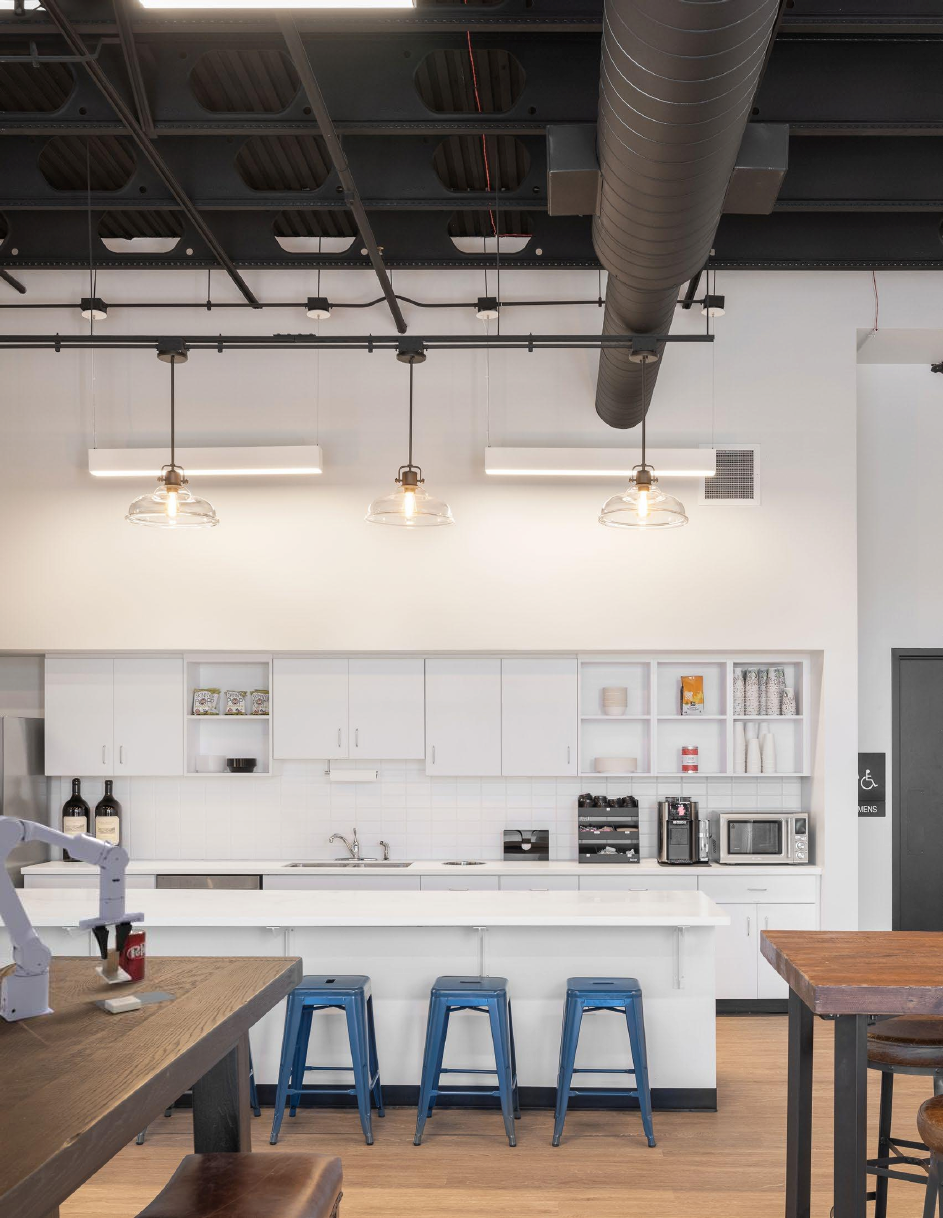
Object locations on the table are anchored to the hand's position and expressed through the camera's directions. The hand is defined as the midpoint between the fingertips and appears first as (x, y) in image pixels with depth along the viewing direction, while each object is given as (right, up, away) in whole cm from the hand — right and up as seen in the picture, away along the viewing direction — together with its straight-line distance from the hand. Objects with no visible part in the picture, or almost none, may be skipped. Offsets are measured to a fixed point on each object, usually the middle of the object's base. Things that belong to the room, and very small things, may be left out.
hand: (111, 957), depth 237 cm
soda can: (-1, -12, +16) cm, 20 cm away
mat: (+7, -9, -4) cm, 12 cm away
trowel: (+1, -4, -1) cm, 4 cm away
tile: (+4, -7, -8) cm, 11 cm away
